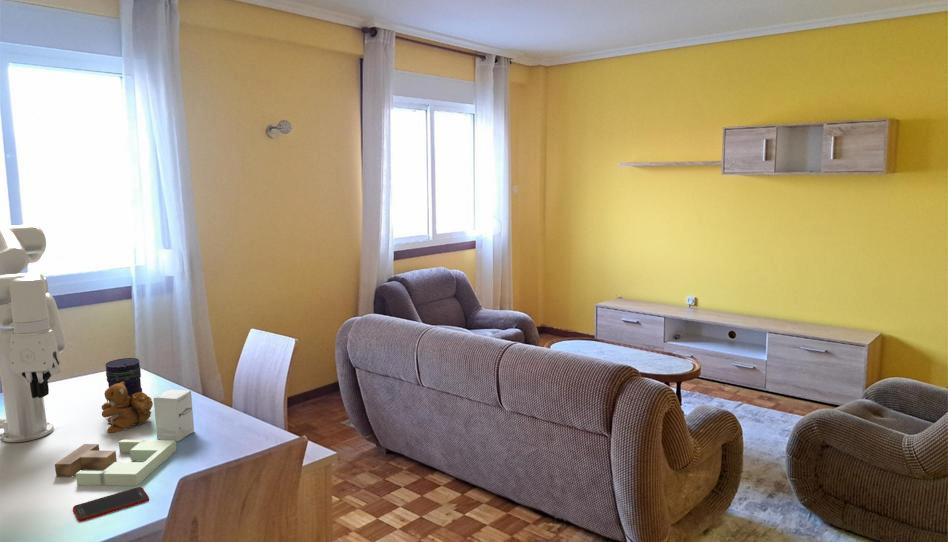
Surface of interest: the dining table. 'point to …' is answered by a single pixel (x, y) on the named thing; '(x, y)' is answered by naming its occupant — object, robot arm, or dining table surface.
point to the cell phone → (110, 503)
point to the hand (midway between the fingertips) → (40, 395)
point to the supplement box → (173, 415)
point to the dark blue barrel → (125, 374)
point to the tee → (85, 460)
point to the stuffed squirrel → (125, 408)
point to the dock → (131, 463)
